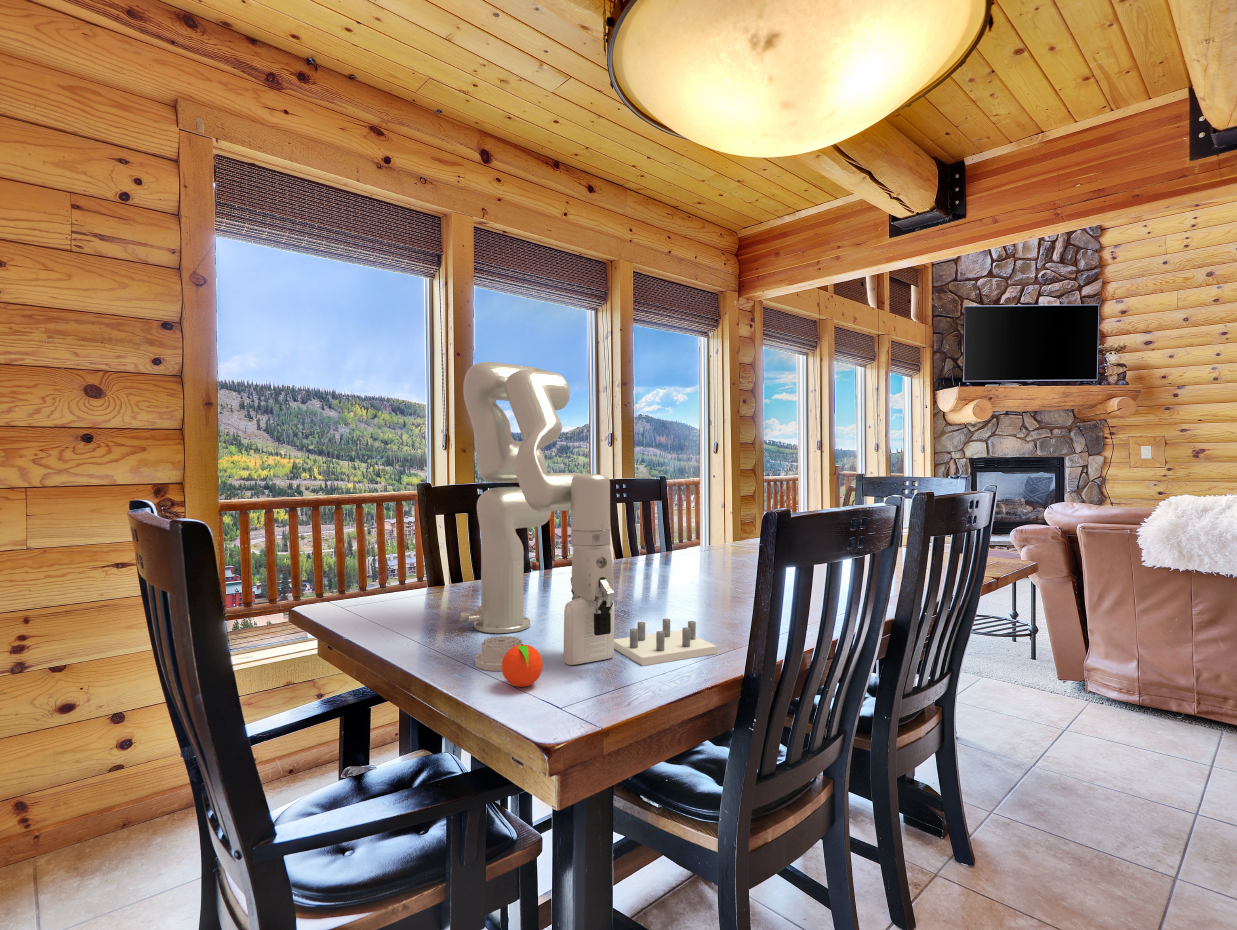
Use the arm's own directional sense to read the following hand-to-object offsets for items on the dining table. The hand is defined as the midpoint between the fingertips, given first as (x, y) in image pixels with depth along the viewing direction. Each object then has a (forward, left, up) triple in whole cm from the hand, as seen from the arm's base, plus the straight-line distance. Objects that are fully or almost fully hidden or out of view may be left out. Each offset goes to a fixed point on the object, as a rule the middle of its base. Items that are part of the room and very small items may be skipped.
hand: (591, 628), depth 123 cm
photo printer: (0, +1, -6) cm, 6 cm away
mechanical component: (-16, +6, -7) cm, 18 cm away
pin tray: (+16, 0, -6) cm, 17 cm away
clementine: (-16, -7, -6) cm, 19 cm away
